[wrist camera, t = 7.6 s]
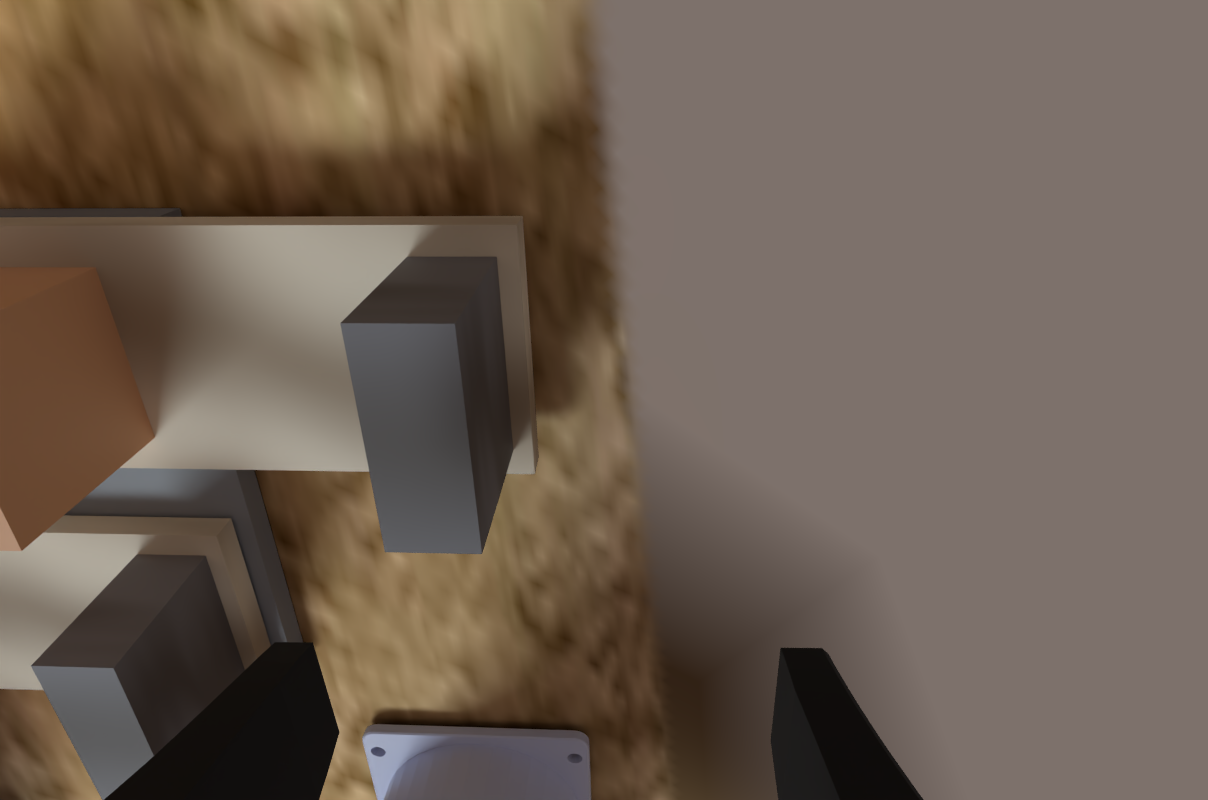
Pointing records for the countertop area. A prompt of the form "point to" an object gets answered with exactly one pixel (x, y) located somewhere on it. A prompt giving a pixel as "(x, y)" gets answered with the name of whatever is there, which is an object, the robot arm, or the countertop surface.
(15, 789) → the countertop surface
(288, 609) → the lane board
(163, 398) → the near strip
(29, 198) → the countertop surface
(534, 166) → the countertop surface
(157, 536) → the far strip
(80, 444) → the block
